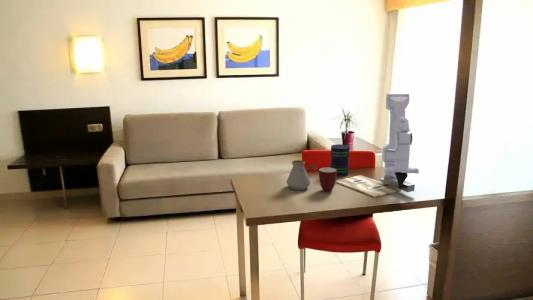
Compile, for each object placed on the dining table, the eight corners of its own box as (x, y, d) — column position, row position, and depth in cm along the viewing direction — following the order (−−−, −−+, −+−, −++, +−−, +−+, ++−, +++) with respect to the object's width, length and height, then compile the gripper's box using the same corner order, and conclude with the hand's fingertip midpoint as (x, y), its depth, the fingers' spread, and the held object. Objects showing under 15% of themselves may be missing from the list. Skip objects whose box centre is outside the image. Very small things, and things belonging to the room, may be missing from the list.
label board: (360, 176, 203) (360, 174, 203) (400, 190, 182) (400, 188, 181) (335, 182, 195) (335, 180, 194) (374, 197, 173) (374, 195, 173)
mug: (340, 194, 178) (340, 173, 175) (323, 195, 177) (323, 174, 174) (332, 187, 188) (333, 167, 186) (316, 188, 187) (316, 168, 184)
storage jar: (336, 177, 203) (336, 149, 199) (326, 172, 212) (327, 145, 208) (352, 175, 206) (353, 147, 203) (342, 170, 215) (343, 143, 211)
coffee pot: (282, 185, 191) (282, 156, 187) (303, 182, 195) (303, 153, 192) (304, 200, 172) (304, 167, 168) (326, 195, 176) (327, 163, 173)
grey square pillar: (381, 184, 187) (381, 175, 186) (387, 183, 189) (388, 174, 188) (407, 195, 172) (407, 185, 171) (414, 193, 174) (414, 184, 173)
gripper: (387, 161, 168) (385, 191, 171) (422, 161, 167) (419, 191, 170) (383, 157, 174) (382, 186, 178) (417, 157, 173) (414, 186, 177)
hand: (400, 188), depth 174 cm, fingers closed
